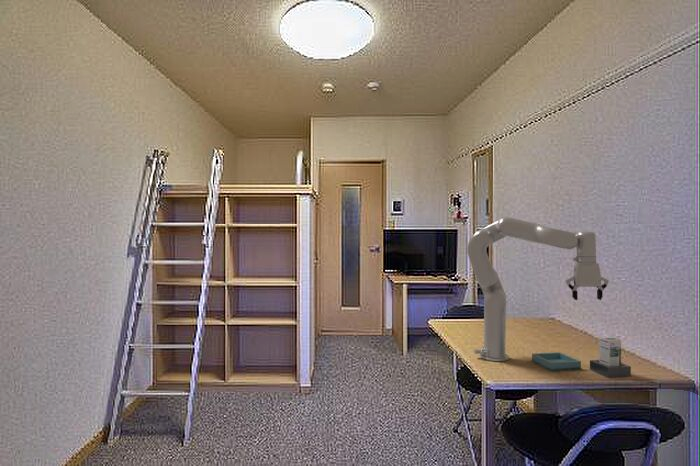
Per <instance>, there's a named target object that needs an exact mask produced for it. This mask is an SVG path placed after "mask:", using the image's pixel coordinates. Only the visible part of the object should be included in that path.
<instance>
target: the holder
mask: <svg viewBox="0 0 700 466" xmlns="http://www.w3.org/2000/svg"><path fill="white" fill-rule="evenodd" d="M589 370H590V371H592V372H595V373H597V374H599V375H601V376H603V377H606V378H609V379H610V378H623V377H625V378H628V377H631V376H632V374H631V372H632V367H631V366H630V365H628V364H626V363H622V362H621V366H611V367H609V366H606V365H604V364H601V363H599V359H590V360H589Z"/></svg>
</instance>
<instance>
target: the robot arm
mask: <svg viewBox="0 0 700 466" xmlns="http://www.w3.org/2000/svg"><path fill="white" fill-rule="evenodd" d="M506 237H509V238H513V239H514V238H515V239H519V240H522V241H526V242H530V243H536V244H543V245H547V246H550V247H554V248H555V247H556V248H559V249H563V250H573V249H574V248H575V249H576V255H575V257H573V258H572V259H573V260H572V261H574V262H575V264H574V270H573V276H572V277H569V278H568V279H566V280H564V282H565V283H566V285H567V287H568V288H569V289H570V290H571V293H572V298H573V300H575V301H578V299H579V298H578V288H579V287H580V288H581V287H582V288H588V287H592V288H593V287H596V288H597V290H596V299H597V300H598V301H602V299H603V291H604V290H605V289H606V288H607V286H608V284H609V283H610V280H609V279H607V278H605V277H602V275H601V269H600V263H599V262H597V239H596V238H597V236H596V233H595V232H594V231H579V232H573V231H572V232H571V231H566V230H561V229H557V228H553V227H549V226H545V225H542V224H539V223H536V222H532V221H526V220H522V219H519V218H514V217H513V218H512V217H508V216H505V217H501V218H499V219H498V220H496V221H495V222H493V223H491V224H489V225H487V226H485V227H484V228H482V229H478V230H477V231H475V232H474V234H473V235H472V236H471V237H470V239H469V241H468V244H467V249H466V250H467V256H468V259H469V262H470V265H471V268H472V270H473V273H474V275H475V279H476V282H477V283H478V285H479V286H480V289H481V291H482V294H483V297H484V298H483V316H484V317H483V346H481V348H480V349H473V353H474V354H475V355H476V354H477V355H478V354H479V355H480V358H481V359H482V360H486V361H491V362H506V361H508V360H509V359H510V356H509V355H508V354H506V341H507V340H506V335H507V334H506V333H507V332H506V330H507V329H506V328H507V320H506V319H507V314H506V313H507V297H506V296H507V295H506V292H505V290H504V287H503V285H502V282H501V279H500V277H499V275H498V272H497V271H496V269H495V268H493V265H492V262H491V260H490V257H489V255H488V251H487V248H488V247H489V246H490V245H492V244H494V243H496V242H498V241H500V240H502V239H504V238H506ZM571 282H573V284H571ZM602 282H603V283H602Z"/></svg>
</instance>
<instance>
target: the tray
mask: <svg viewBox="0 0 700 466" xmlns="http://www.w3.org/2000/svg"><path fill="white" fill-rule="evenodd" d="M531 362H533V363H534V364H537V365H538V366H540V367H542V368H544V369H546V370H548V371H551V372H562V371H564V372H565V371H577V370H578V371H580V370H581V369H582V368H581V367H582V362H581V360H579V359H577V358H575V357H572V356H570V355H567V354H565V353H562V352H559V351H558V352H540V353H539V352H538V353H531Z"/></svg>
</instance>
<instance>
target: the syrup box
mask: <svg viewBox="0 0 700 466" xmlns="http://www.w3.org/2000/svg"><path fill="white" fill-rule="evenodd" d="M598 341H599V344H598V345H599V347H598V348H599V351H598V352H599V353H598V354H599V359H598V360H599V363H601V364H604V365H606V366H609V367H611V366H621V363H622V340H621V339H619V338H617V337H612V336H609V337H599V339H598Z"/></svg>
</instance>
